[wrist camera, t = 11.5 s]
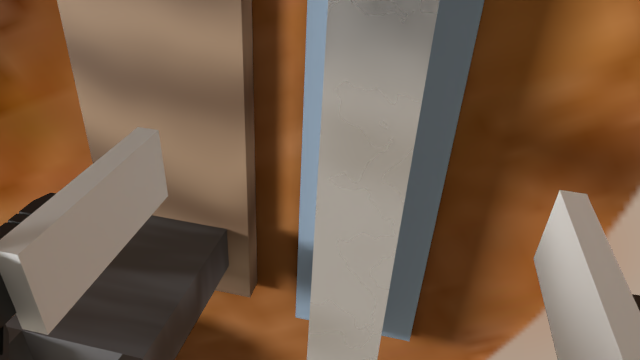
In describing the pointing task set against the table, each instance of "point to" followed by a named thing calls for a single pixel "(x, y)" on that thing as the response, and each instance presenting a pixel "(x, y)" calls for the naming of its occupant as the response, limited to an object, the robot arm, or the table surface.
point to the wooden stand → (179, 165)
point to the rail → (364, 166)
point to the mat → (427, 161)
